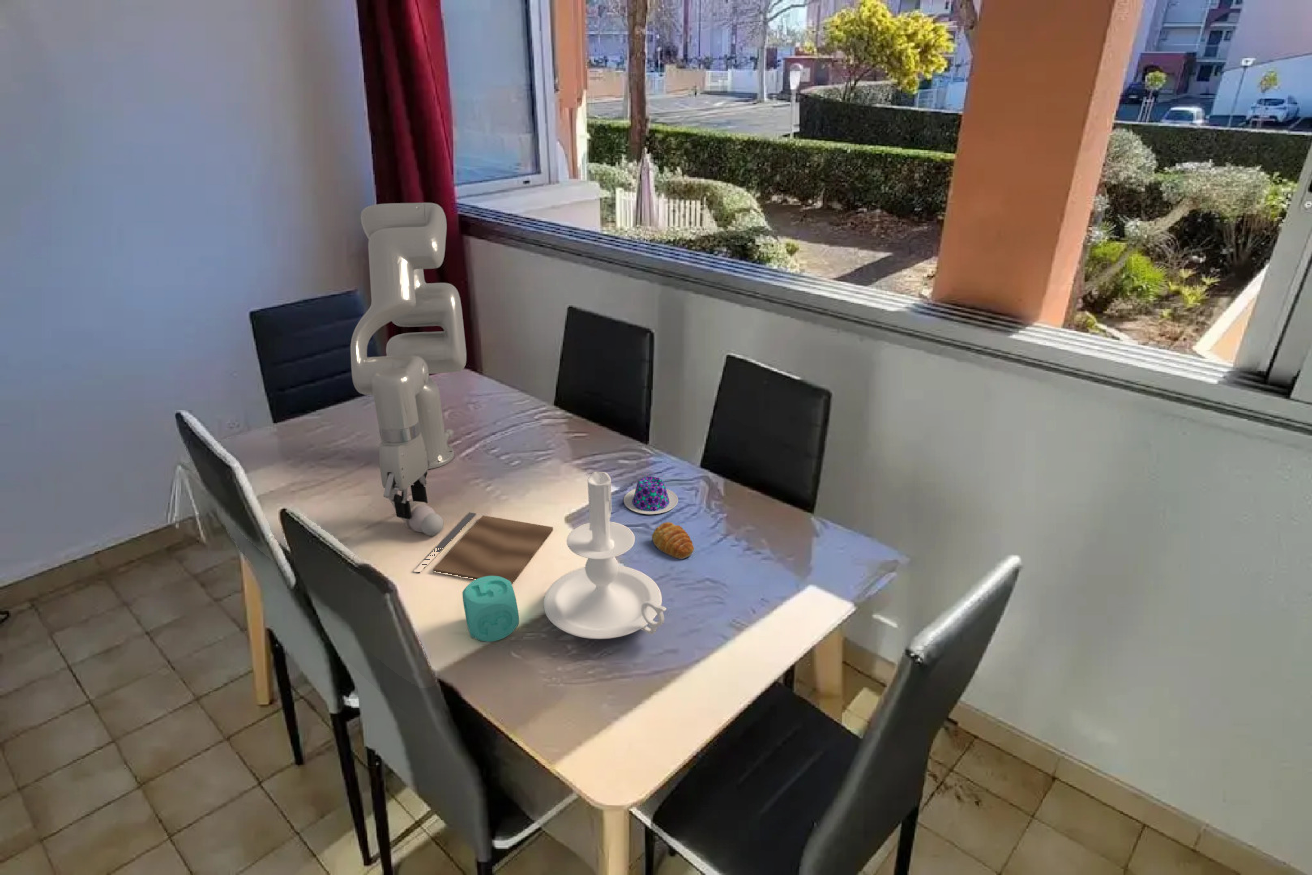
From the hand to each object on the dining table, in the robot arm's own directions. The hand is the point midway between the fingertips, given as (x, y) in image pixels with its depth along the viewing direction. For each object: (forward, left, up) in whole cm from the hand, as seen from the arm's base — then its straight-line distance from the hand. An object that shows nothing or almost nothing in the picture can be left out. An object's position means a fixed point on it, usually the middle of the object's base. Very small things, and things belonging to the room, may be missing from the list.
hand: (412, 509), depth 162 cm
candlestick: (+16, +49, -5) cm, 52 cm away
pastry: (-9, +53, -5) cm, 54 cm away
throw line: (+3, +9, -4) cm, 10 cm away
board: (+3, +20, -4) cm, 21 cm away
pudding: (-24, +44, -5) cm, 50 cm away
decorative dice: (+24, +30, -5) cm, 39 cm away
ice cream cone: (0, 0, -5) cm, 5 cm away
